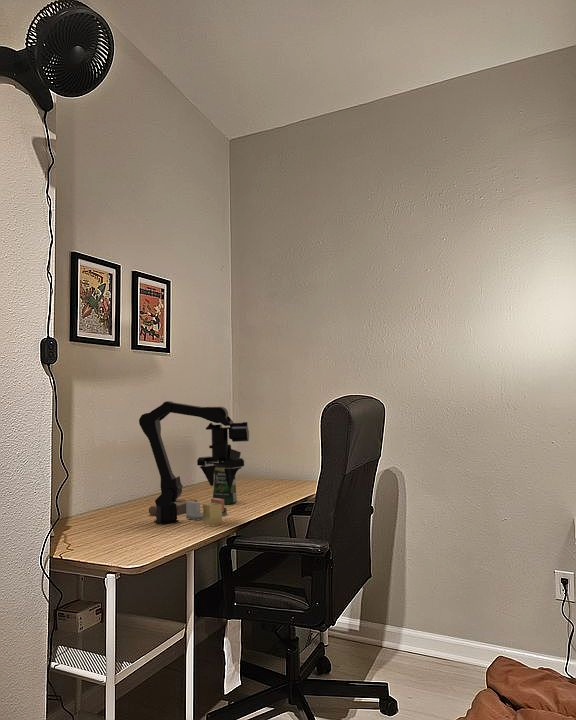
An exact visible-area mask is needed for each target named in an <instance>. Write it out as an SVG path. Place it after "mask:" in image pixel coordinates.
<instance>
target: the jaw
mask: <svg viewBox="0 0 576 720" xmlns="http://www.w3.org/2000/svg"><path fill="white" fill-rule="evenodd" d="M210 503H219V504H222V512H224V508H225V504H224V500H223V499H218V498H213V497H212V498H210Z"/></svg>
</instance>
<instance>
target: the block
mask: <svg viewBox="0 0 576 720" xmlns="http://www.w3.org/2000/svg"><path fill="white" fill-rule="evenodd" d="M202 513H203V519H202V525H203V524H205V525H209V526H211V527H213V526H212V525H216V526H218V525H217V524H221V525H223V516H222V504H219V503H211V502H210V503H203V504H202ZM205 525H204V526H205ZM209 526H208V527H209Z"/></svg>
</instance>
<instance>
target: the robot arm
mask: <svg viewBox="0 0 576 720" xmlns="http://www.w3.org/2000/svg"><path fill="white" fill-rule="evenodd" d="M170 413H172V414H179V415H184V416H192V417H198V418H202V419H204V420H206V421H209V424H208V425H207V426H206V427H205V430H207V431H208V430H209V431H210V430H211V445H208V446H209V447H208V448H209V449H211V455H209V456H201V457H198V458H197V461H196V465H197V466H199V469H201V470H202V472H203V474H204V475H205V477H206V479H207V481H208V483H209V486H211V487H214V470H215V468H216V466H217V465H213V464H219V465H225V466H226V467H227V468H224V470H225V475H226V480H227V484H228V487H229V488H231V487H232V484H233V480H234V477H235V478H236V474H237V473H238V471H239V470H242V467H245V460H244V458H242V457H241V454H242V453H241V452H242V451H241V452H240V451H238V450H236V449H233V448H232V445H231V444H229V440H231V441H232V443H233V442H234V443H235V442H236V443H238V442H249V440H250V431H249V425H248V421H243V422H234V421H233V420H232V419H231V417H230V415H229V412H228V410H227V408H226V407H224V406H198V405H192V404H186V403H180V402H174V401H171V400H169V401H168V400H167V401H164V402H163V403H162V404H160V405H159V406H157V407H155V409H153V410H151V411H149V412H146V413H144V414H141V415H140V417H139V419H138V423H139V426H140V428H141V430H142V432H143V434H144V435H145V437H147V439H148V441H149V443H150V444H149V445H150V448H151V451H152V454H153V457H154V460H155V464H156V467H157V470H158V472H159V473H158V474H159V475H160V492H161V493H160V495H158V497H157V498H156V499H155V500H154V502H155V505H156V515H155V517H156V519H154V520H153V522H154V523H158V524H161V525H167V524H171V523H178V522H179V520H180V519H179V520H178V515H177V507H176V503H174V502H176V500H177V499H179V498H180V496H181V495H182V493H183V487H184V486H183V485H182V481H181V476H180V475H178V476H175V474H174V472H173V471H172V467H171V464H170V461H169V458H168V454H167V451H166V449H165V445H164V441H163V439H162V435H161V434H162V433H161V432H162V431H161V430H162V425H161V424H162V423H161V421H162V420H164V419H165V418H166V417H168V415H170ZM213 423H214V424H213ZM223 426H224V427H223ZM217 461H219V462H217Z"/></svg>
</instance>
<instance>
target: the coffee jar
mask: <svg viewBox="0 0 576 720" xmlns="http://www.w3.org/2000/svg"><path fill="white" fill-rule="evenodd" d="M217 462H219V461H217ZM213 465H217V466H216V468H215V470H214V485H213V491H212V492H213V493H212V498H218V499H223V500H224V505H230V504H231V505H233V503H234V504H235V503H236V502H237V501H238V500H237V499H238V497H237V487H236V486H237V485H236V476H235V477H234V480H233V484H232V487H231V488H229V487H228V484H227V480H226V475H225V470H224V468H227V467H226V466H225V465H219V464H213Z"/></svg>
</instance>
